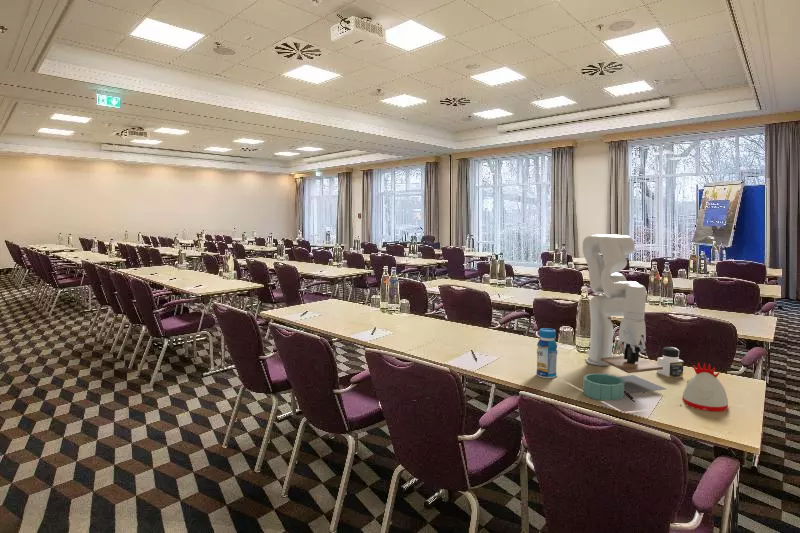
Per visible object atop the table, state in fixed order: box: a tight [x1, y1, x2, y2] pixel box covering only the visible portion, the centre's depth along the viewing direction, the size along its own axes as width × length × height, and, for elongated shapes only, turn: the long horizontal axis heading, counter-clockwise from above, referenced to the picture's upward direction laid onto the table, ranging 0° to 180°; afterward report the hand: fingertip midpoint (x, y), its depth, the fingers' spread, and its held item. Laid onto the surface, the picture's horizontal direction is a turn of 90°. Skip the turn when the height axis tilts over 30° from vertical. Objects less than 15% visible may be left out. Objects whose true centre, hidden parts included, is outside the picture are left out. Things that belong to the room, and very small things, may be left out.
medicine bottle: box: [656, 346, 684, 379], centre depth 208 cm, size 7×7×12 cm
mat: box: [618, 374, 667, 394], centre depth 196 cm, size 18×18×1 cm
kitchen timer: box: [682, 362, 729, 412], centre depth 176 cm, size 14×14×15 cm
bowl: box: [582, 372, 625, 402], centre depth 185 cm, size 14×14×6 cm
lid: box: [601, 346, 663, 374], centre depth 196 cm, size 16×16×7 cm
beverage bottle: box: [536, 327, 558, 379], centre depth 208 cm, size 8×8×20 cm
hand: (631, 359), depth 196 cm, fingers closed on lid, 3 cm apart
